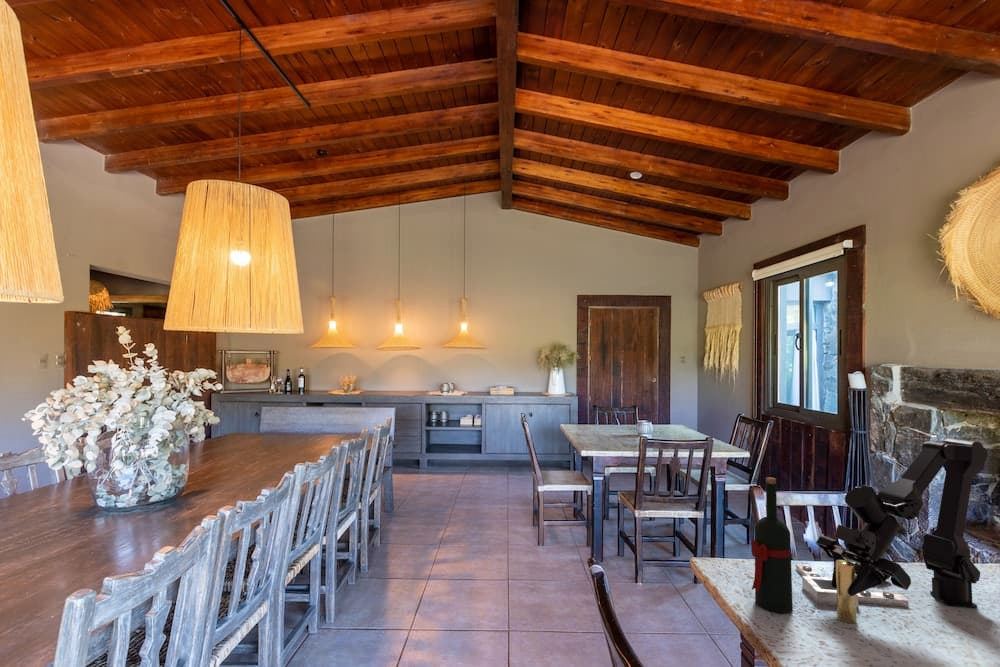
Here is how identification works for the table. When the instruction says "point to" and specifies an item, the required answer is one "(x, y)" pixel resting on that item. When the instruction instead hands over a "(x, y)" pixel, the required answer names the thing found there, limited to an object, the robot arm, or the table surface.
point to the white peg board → (827, 593)
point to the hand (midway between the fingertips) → (841, 590)
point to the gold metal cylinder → (845, 592)
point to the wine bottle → (772, 558)
